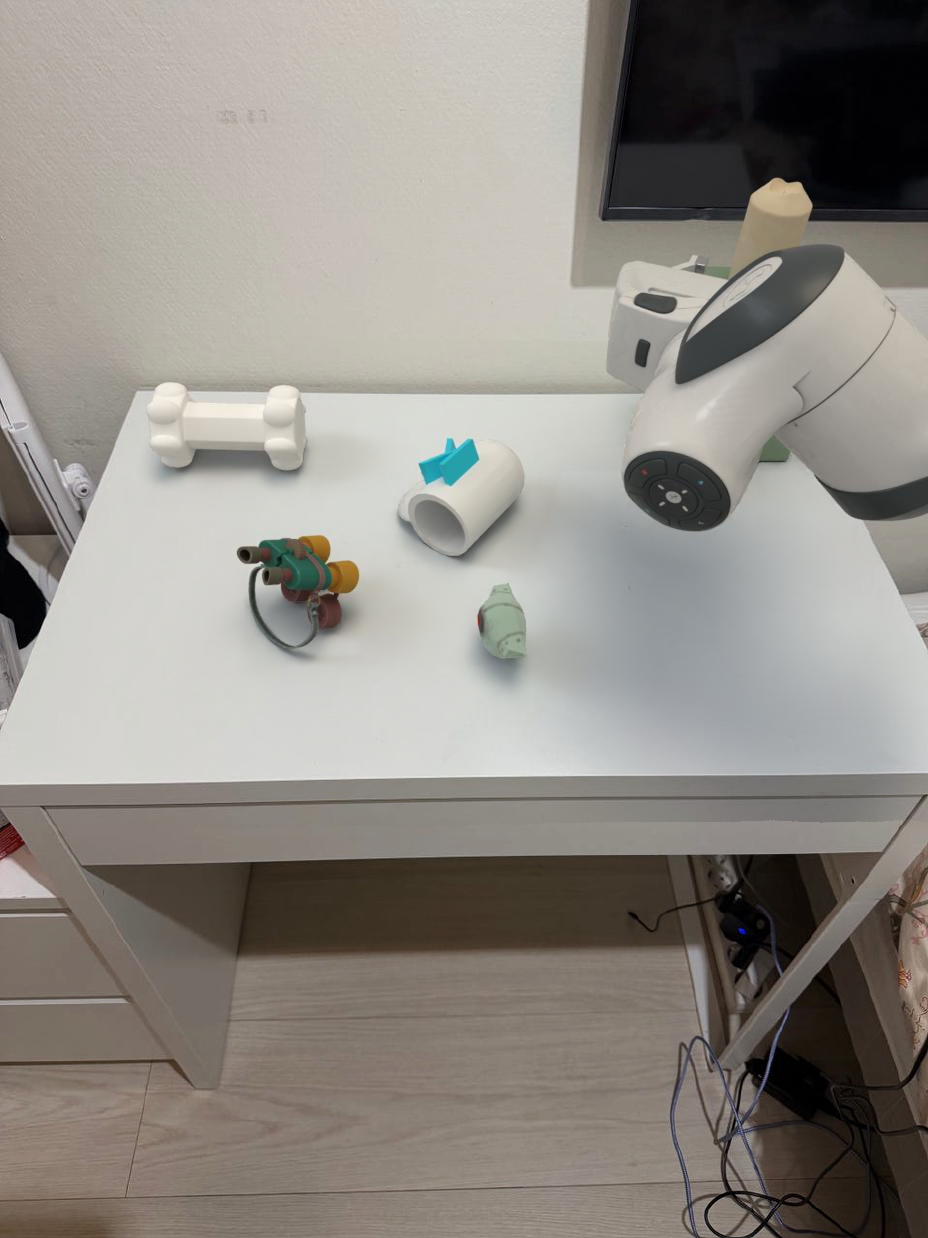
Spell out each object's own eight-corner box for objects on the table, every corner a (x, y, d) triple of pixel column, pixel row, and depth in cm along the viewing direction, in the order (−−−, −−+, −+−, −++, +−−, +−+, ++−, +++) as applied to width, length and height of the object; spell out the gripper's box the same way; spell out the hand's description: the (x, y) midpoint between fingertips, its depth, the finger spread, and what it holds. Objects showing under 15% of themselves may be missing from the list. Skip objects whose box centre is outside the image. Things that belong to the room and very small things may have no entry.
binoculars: (335, 661, 77) (376, 570, 73) (254, 674, 70) (295, 574, 66) (276, 602, 81) (312, 513, 77) (194, 609, 74) (230, 511, 70)
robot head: (530, 686, 73) (537, 638, 68) (483, 692, 73) (487, 644, 67) (512, 616, 78) (517, 566, 73) (468, 620, 78) (471, 570, 72)
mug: (519, 410, 81) (447, 477, 75) (543, 490, 87) (478, 560, 80) (429, 410, 89) (357, 471, 82) (456, 484, 94) (390, 547, 87)
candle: (714, 281, 84) (742, 176, 76) (759, 271, 86) (791, 167, 78) (748, 309, 81) (781, 202, 73) (794, 297, 82) (831, 192, 75)
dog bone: (157, 482, 89) (136, 418, 82) (176, 430, 94) (157, 367, 88) (301, 485, 89) (290, 422, 83) (311, 433, 94) (302, 370, 88)
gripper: (886, 359, 58) (900, 266, 66) (597, 293, 62) (644, 214, 70) (851, 434, 62) (868, 338, 71) (586, 368, 67) (631, 285, 75)
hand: (755, 276), depth 71 cm, fingers open, 8 cm apart
